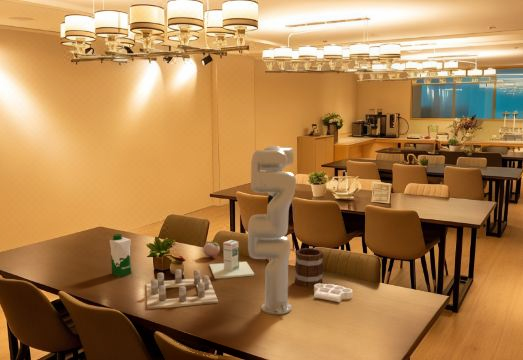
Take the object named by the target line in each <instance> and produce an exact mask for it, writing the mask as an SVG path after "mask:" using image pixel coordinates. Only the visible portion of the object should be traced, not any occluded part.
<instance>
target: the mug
mask: <svg viewBox="0 0 523 360" xmlns="http://www.w3.org/2000/svg"><path fill="white" fill-rule="evenodd" d="M294 252H295V263H294V267H295V277H294V282H295V283H296V284H298V285H297V286H302V287H305V286H306V288H308V287H309V288H310V287H311V286H314V285H315V284H319V283H322V284H324V283H323V271H324V270H323V269H324V265H323V263H324V262H323V258H324V257H323V256H324V252H323V251H322V250H321V249H316V248H313V247H310V248H309V247H308V248H307V247H306V248H299V249H297V250H295V251H294ZM311 288H312V287H311Z"/></svg>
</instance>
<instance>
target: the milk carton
mask: <svg viewBox="0 0 523 360" xmlns="http://www.w3.org/2000/svg"><path fill="white" fill-rule="evenodd" d="M112 236H113V237H112V239H109V240H108V241H109V245H110V255H111V256H110V259H111V275H112V276H116V277H119V278H122V277H125V276H128V275H132V265H131V250H130V249H131V241H132V239H131V238H127V237H123V236H122V234H120V233H116V234H113V235H112Z"/></svg>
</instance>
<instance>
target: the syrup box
mask: <svg viewBox="0 0 523 360" xmlns="http://www.w3.org/2000/svg"><path fill="white" fill-rule="evenodd" d="M222 244H223V245H222V246H223V248H222V250H223V263H224V269H226V270H229V271H233V270H236V269H238V268H239V262H240V254H239V253H240V252H239V249H240V246H239V241H238V240H233V239H230V240H228V241H224V242H222Z"/></svg>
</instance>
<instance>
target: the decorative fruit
mask: <svg viewBox="0 0 523 360" xmlns="http://www.w3.org/2000/svg"><path fill="white" fill-rule="evenodd" d="M212 241H213V240H209V241H205V242H204V245H203V253H204V254H205V255H206V256H207V257H210V258H211V259H212V258H214V257H216V256H217V255H218V254H219V253H220V251H221V248H220V244H219V243H217V242H216V241H214V242H212Z"/></svg>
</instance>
